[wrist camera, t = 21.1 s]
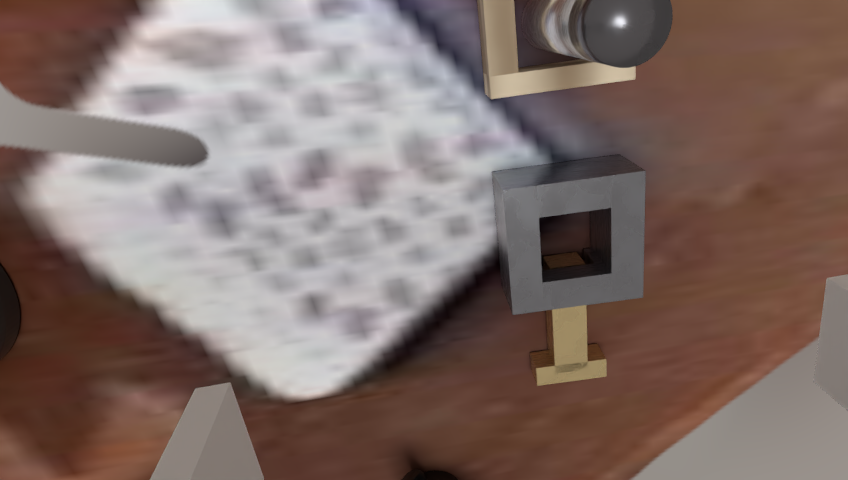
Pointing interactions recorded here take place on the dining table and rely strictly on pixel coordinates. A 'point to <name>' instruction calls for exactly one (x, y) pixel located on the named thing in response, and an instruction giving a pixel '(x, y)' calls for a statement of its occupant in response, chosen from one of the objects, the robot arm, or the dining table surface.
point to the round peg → (599, 29)
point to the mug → (428, 475)
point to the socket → (609, 232)
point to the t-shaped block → (567, 339)
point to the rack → (515, 81)
